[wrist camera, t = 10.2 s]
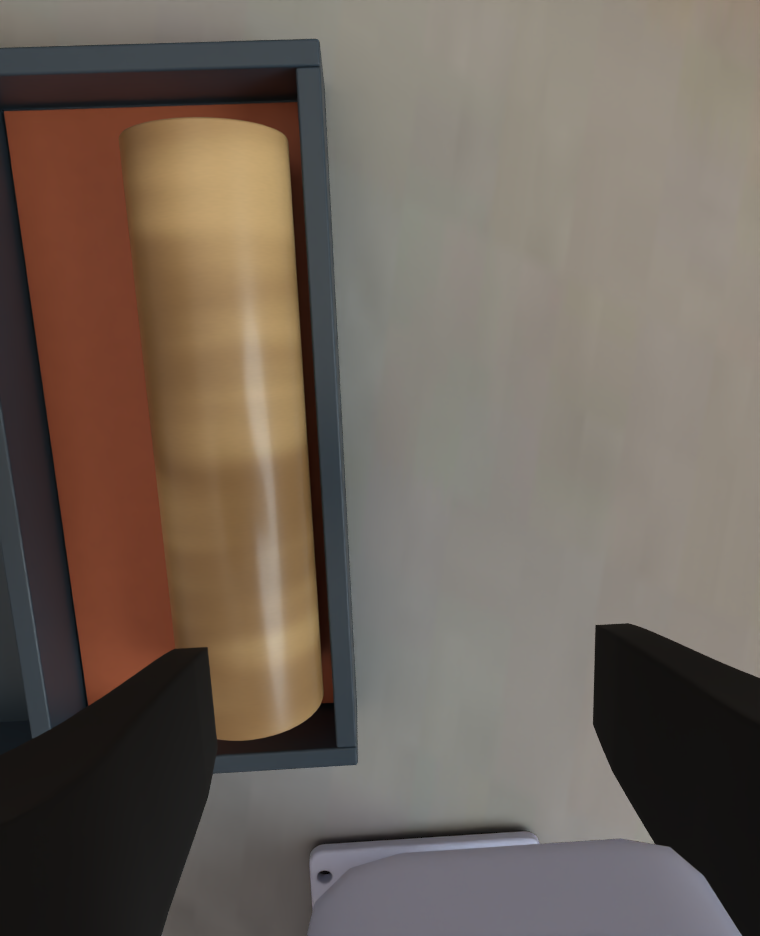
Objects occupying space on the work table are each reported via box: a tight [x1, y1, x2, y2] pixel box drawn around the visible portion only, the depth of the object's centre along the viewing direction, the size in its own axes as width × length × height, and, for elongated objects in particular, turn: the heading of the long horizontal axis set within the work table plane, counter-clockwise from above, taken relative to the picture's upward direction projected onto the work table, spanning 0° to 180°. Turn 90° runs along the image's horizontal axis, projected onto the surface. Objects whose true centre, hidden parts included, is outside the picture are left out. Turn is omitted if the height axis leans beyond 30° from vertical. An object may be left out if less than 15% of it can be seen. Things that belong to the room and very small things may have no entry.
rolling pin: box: [119, 117, 324, 741], centre depth 18 cm, size 15×4×4 cm
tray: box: [0, 39, 358, 774], centre depth 19 cm, size 19×18×3 cm
